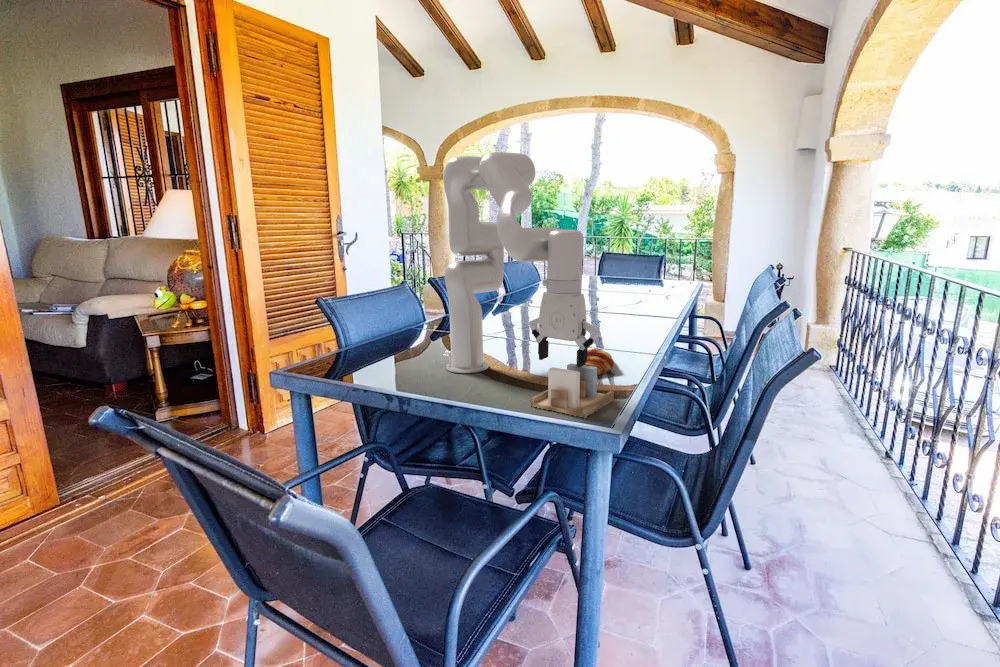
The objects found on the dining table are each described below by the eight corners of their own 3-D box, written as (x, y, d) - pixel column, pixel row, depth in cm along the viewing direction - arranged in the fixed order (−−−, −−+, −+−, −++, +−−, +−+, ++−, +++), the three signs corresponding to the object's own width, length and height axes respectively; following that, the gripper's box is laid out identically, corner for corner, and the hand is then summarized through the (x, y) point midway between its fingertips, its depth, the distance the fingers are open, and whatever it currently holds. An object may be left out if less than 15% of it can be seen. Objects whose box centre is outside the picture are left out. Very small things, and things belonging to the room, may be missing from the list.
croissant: (598, 371, 162) (587, 348, 163) (627, 359, 157) (616, 335, 158) (573, 389, 144) (561, 362, 145) (605, 376, 139) (592, 349, 139)
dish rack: (530, 406, 122) (530, 373, 120) (562, 389, 134) (562, 359, 132) (585, 418, 114) (585, 383, 112) (613, 399, 125) (614, 367, 124)
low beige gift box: (548, 402, 121) (548, 369, 120) (552, 400, 123) (552, 367, 121) (575, 408, 117) (575, 373, 116) (579, 405, 119) (579, 371, 117)
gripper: (521, 285, 116) (520, 359, 120) (592, 292, 107) (589, 373, 111) (539, 282, 122) (537, 352, 126) (608, 288, 113) (604, 364, 117)
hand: (561, 362), depth 119 cm, fingers open, 9 cm apart
